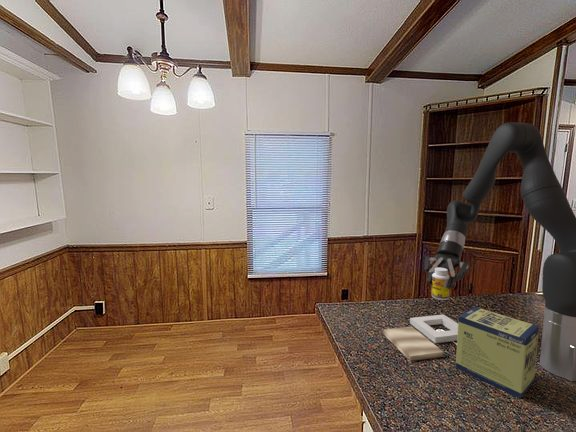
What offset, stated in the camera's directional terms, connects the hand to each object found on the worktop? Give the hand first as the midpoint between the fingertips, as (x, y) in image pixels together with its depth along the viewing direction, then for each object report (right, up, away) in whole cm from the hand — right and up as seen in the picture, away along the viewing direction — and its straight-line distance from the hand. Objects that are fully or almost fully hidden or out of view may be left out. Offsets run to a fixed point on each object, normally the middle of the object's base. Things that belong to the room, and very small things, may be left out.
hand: (439, 285), depth 100 cm
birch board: (-12, -18, -5) cm, 22 cm away
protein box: (+4, -20, -20) cm, 29 cm away
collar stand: (+2, -17, +4) cm, 17 cm away
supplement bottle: (+1, -5, +2) cm, 5 cm away
